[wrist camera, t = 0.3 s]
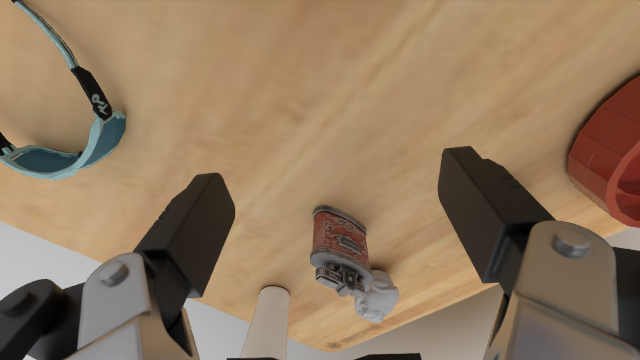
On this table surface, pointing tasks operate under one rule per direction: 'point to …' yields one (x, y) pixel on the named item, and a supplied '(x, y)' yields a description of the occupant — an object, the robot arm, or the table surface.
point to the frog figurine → (377, 298)
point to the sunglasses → (101, 135)
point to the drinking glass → (268, 325)
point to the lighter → (340, 252)
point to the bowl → (611, 156)
